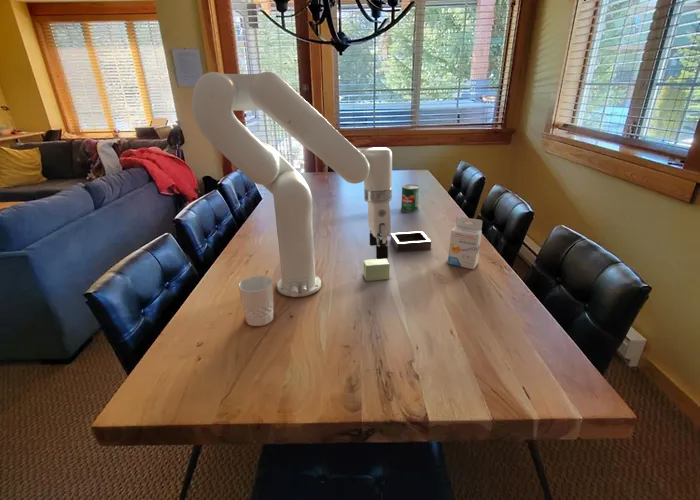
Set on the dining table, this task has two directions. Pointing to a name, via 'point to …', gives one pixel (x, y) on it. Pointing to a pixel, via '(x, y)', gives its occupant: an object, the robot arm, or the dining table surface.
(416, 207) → the canned tomato
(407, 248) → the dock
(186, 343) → the dining table surface
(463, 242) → the ink box
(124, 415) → the dining table surface
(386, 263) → the light green block
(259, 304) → the white cup
